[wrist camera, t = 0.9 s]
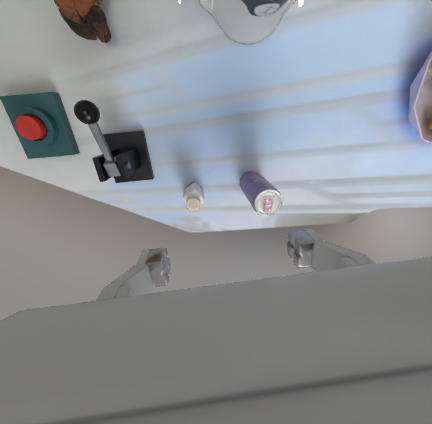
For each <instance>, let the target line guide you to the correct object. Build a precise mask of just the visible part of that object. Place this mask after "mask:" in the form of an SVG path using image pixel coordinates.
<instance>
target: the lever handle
mask: <svg viewBox="0 0 432 424" xmlns="http://www.w3.org/2000/svg"><path fill="white" fill-rule="evenodd" d="M74 113H75V115H76V117H77V118H78V119H79V120H80V121H81V122H83V123H85V124H88V125H89V127H90V129H91V131H92V133H93V135H94V137H95V139H96V141H97V143H98V145H99V147H100V149H101V151H102V153H103V155H104V157H105V159H106V160H105V162H104V164H103V165H104V167H105V169H106V171H107V173H108V175H109V177H114V176H121V175H120V172H119V168H118V165H117V161H116V158H115V157H113V155H112V153H111V151H110V149H109V147H108V145H107V142H106V140H105V138H104V136H103V134H102V132H101V130H100V128H99V125H98V123H97V121H98V120H99V118H100V112H99V109H98V108H97V106H96V105H95V104H94V103H92V102H90V101H87V100H81V101H78V102H77V103H76V104H75V107H74Z"/></svg>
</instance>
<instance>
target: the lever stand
mask: <svg viewBox="0 0 432 424" xmlns="http://www.w3.org/2000/svg"><path fill="white" fill-rule="evenodd" d="M103 136H104V138H105V140H106V142H107V145H108V147H109V149H110V151H111V153H112V155H113V157H115V158H116V161H117V165H118V168H119V172H120V175H121V176H114V178H115V182H116V183H119V182H129V181H139V180H149V179H153V178H154V176H153V171H152V167H151V162H150V157H149V153H148V148H147V143H146V139H145V134H144V131H137V132H126V133H114V134H103ZM105 160H106V159H105V157H104V155H103V154H102V155H99V156H97V157H94V158H93V162H94V165H95V168H96V171H97V174H98V177H99V180H100V182H102V181H106V180H108V179H109V178H111V177H109V175H108V173H107V171H106V169H105V167H104V165H103V164H104V162H105Z"/></svg>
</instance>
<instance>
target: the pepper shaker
mask: <svg viewBox="0 0 432 424" xmlns="http://www.w3.org/2000/svg"><path fill="white" fill-rule="evenodd" d="M183 200H184V201H185V203H186V207H187V209H188V210H190V211H197V210H198V209H199V208H200V205H201V204H202V203H203V202H204V192H203V190H202V189H201V188H200V187H199V185H198V184H197V183H196V182H194V183H192V184H191V185H190V186H188V187H187V188H186V189H185V190H184V193H183Z"/></svg>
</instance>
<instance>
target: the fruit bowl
mask: <svg viewBox="0 0 432 424" xmlns="http://www.w3.org/2000/svg"><path fill="white" fill-rule="evenodd" d="M408 120H409V122H410V123H411V125H412V126H413V128H414V129H415V131H416V132H417V134H418V135H419V137H420V138H421V140H423V141H426V142H428V143H431V144H432V51H431V52H430V54H429V56H428V57H427V59H426V61H425V62H424V64H423V66H422V67H421V69H420V71H419V72H418V74H417V76H416V78H415V79H414V81H413V83H412V84H411V86H410V101H409V117H408Z"/></svg>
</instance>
